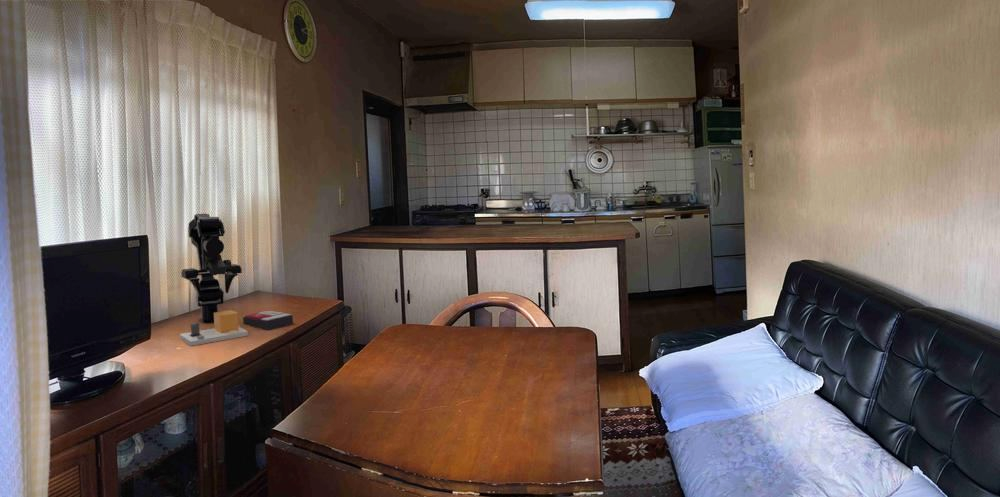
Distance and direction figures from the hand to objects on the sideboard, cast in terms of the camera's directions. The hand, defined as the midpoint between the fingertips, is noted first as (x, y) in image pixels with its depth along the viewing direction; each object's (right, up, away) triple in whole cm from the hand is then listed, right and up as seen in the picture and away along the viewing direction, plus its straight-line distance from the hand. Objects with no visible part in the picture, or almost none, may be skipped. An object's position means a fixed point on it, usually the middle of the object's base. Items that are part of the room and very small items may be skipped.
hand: (213, 294), depth 207 cm
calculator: (+17, -12, +7) cm, 22 cm away
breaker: (+1, -12, -14) cm, 19 cm away
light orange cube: (+8, -12, -7) cm, 16 cm away
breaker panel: (+6, -14, -11) cm, 18 cm away
